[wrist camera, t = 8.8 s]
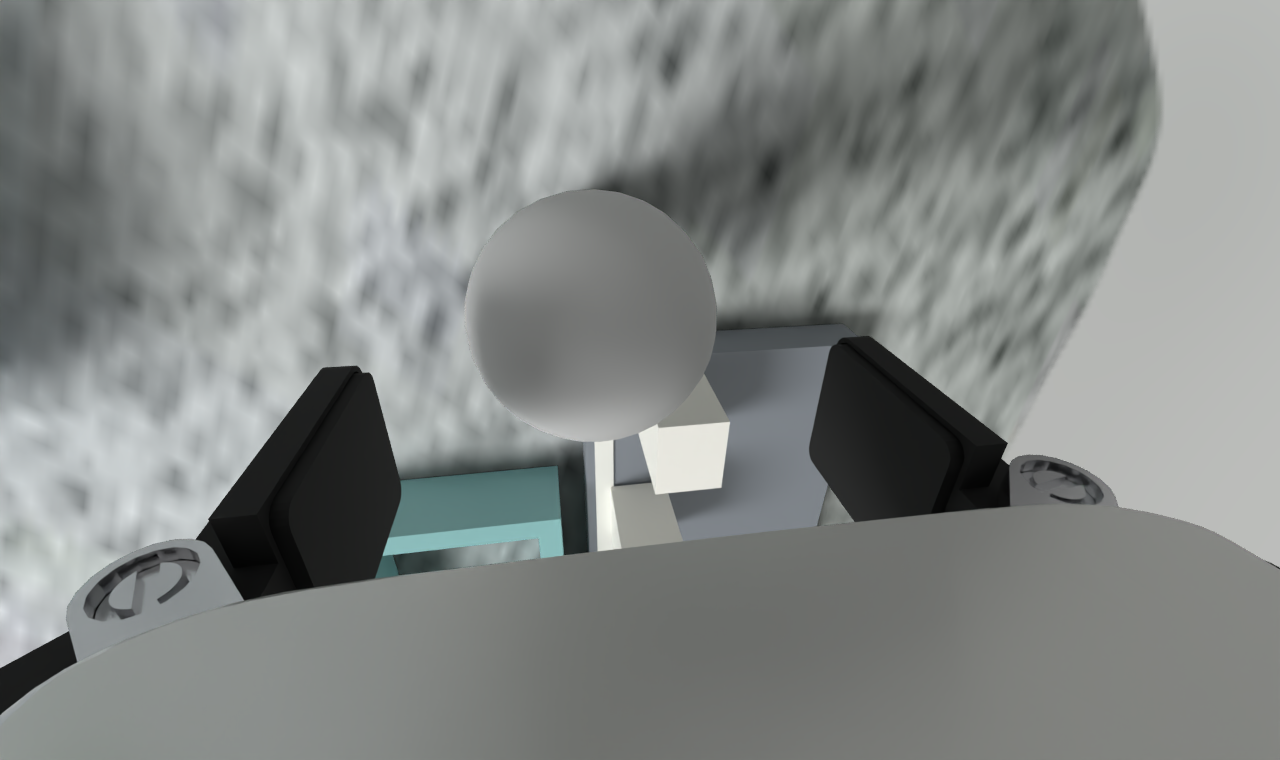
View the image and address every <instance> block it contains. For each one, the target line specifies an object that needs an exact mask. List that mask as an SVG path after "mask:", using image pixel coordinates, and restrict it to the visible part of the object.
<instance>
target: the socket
mask: <svg viewBox="0 0 1280 760" xmlns="http://www.w3.org/2000/svg"><path fill="white" fill-rule="evenodd" d="M400 482H401V500H400V504H399V507H398V510H397V513H396V516H395V519H394V522H393V525H392V528H391V531H390V534H389V537H388V540H387V544H386V547H385V550H384V553H383V556H382V559H381V562H380V565H379V568H378V571H377V574H376V577H375V578H382V577H391V576H399V573H398V570H397V567H396V564H395V561H394V558H393V555H395V554H404V553H413V552H422V551H430V550H439V549H448V548H457V547H466V546H475V545H483V544H492V543H501V542H510V541H519V540H527V539H536V538H539V546H540V555H541V558H547V557H555V556H563V555H564V544H563V531H562V518H561V504H560V491H559V478H558V466H550V467H539V468H528V469H517V470H507V471H496V472H485V473H474V474H464V475H453V476H442V477H432V478H421V479H410V480H400Z"/></svg>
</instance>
